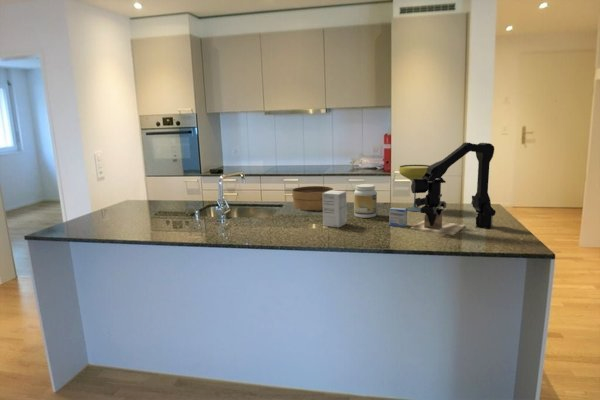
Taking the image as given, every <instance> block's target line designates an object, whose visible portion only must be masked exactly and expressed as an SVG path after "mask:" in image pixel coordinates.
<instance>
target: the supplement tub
mask: <svg viewBox="0 0 600 400" xmlns="http://www.w3.org/2000/svg"><path fill="white" fill-rule="evenodd" d="M377 193H378V192H377V190H376V184H372V183H362V184H356V185H355V190H354V192H353V206H354V207H353V213H354V217H356V218H362V219H364V218H365V219H366V218H374V217H376V216H377V207H378V206H377Z"/></svg>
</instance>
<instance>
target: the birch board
mask: <svg viewBox="0 0 600 400" xmlns="http://www.w3.org/2000/svg"><path fill="white" fill-rule="evenodd" d="M465 226H466V224H460V223H453V222H451V223H450V222H445V221H444V222H443V221H442V228H440V229H431V228H424V220H422V221H420V222H418V223H416V224H415V225H413V226H411V227H410V230H412V231H419V232H421V231H422V232H427V233H435V234H444V235H450V236H454V235H455V234H456V233H458V232H460V231H461V230H462V229H464V227H465Z"/></svg>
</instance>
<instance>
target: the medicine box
mask: <svg viewBox="0 0 600 400" xmlns="http://www.w3.org/2000/svg"><path fill="white" fill-rule="evenodd" d="M406 208H407V207H404V208H402V207H391V208H389V216H388V217H389V219H388V225H389V227H398V228H405V227H407V226H408V211H407V209H406Z"/></svg>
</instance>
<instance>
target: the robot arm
mask: <svg viewBox="0 0 600 400" xmlns="http://www.w3.org/2000/svg"><path fill="white" fill-rule="evenodd" d="M470 152H474V153H475V157H476V159H477V163H478V164H477V165H478V168H477V183H476V193H475V195H471V204H472V207H473V209H474V210H475V212H476V213H477V216H476V217H475V228H483V229H488V230H490V229H491V228H492V227H494V224H493V222H494V221H493V218H494V217H495V215H496V213H497V212H496V210H495V209H494V208H493V207H492V204H491V198H490V194H489V179H490V163H491V161H492V160H493V158H494V154H495V146H494V145H493V144H492V143H489V142H488V143H487V142H479V143H471V142H463V143H462V144H461V145H459V147H457V148H456V149H455V150H454V151H452V152H451V153H450V154H448V155H447V156H445V158H443V159H441V160H439V161H436V162H434V163H433V164H430V165H429V167H428V168H427V172H426V173H425V175H424V176H423V177H422V179H416V178H414V179H413V182H412V181H411V184H410V191H411V193H412V194H414V193H416V194H425V193H427V194H426V195H425V197H423V198H421V197H416V200H415V204H416V207H420V208H421V209H420V211H419V213H420V214H424V215H427V216H428V219H429V223H430V226H433V224H434V222H435V219H436V217H437V215H442V213H443V211H444V209H445V208H447V202H446V201H445V200H441V197H443V194H442V192H441V191H442V190H441V189H442V184H446V183H447V181H446V180H445V179H444V178H443V176H444V175H445V174H446V173H447V171H448V169H449V168H450V167H451V166H452V165H454V164H455V163H457V162H458V161H459V160H460V159H462V158H463V157H464V156H466V155H467V154H468V153H470ZM421 206H422V207H421ZM441 207H442V208H441Z"/></svg>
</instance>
